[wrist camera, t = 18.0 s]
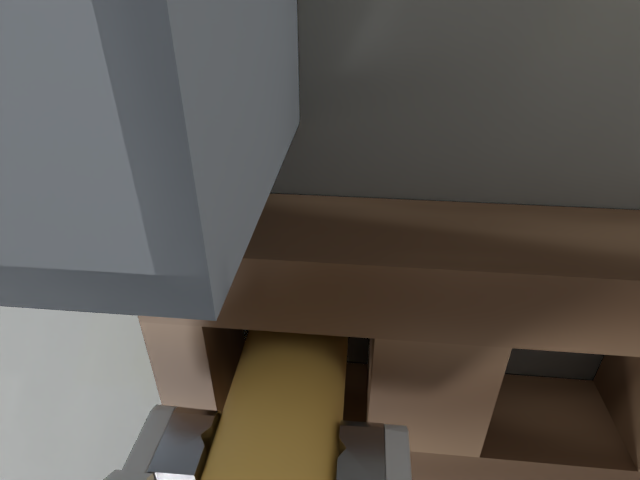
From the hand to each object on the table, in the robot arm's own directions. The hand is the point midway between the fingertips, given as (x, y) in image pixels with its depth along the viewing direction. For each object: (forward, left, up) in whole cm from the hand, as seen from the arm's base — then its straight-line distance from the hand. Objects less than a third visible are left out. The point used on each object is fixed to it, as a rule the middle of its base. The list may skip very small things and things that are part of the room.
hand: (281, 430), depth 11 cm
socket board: (0, -4, -4) cm, 5 cm away
